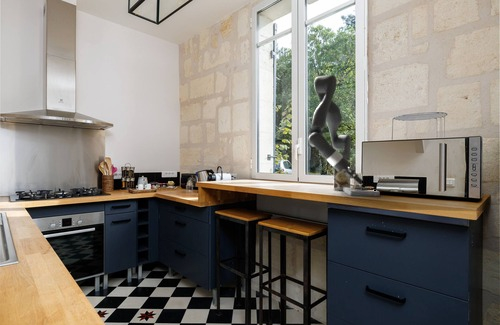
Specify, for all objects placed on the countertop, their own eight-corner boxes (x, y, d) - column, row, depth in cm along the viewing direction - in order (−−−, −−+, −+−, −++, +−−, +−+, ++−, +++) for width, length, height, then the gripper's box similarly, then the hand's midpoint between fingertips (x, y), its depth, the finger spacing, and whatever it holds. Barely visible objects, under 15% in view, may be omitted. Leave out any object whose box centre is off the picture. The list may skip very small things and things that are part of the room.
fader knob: (352, 187, 150) (352, 173, 150) (360, 187, 149) (360, 173, 149) (353, 188, 146) (353, 173, 146) (362, 188, 145) (362, 173, 145)
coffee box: (333, 190, 159) (333, 162, 159) (333, 189, 165) (333, 162, 165) (350, 190, 156) (350, 161, 156) (350, 189, 162) (349, 162, 162)
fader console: (343, 191, 153) (343, 187, 153) (368, 191, 151) (368, 187, 151) (350, 195, 132) (350, 191, 132) (379, 195, 130) (379, 191, 130)
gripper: (344, 155, 142) (369, 178, 140) (340, 156, 156) (362, 177, 154) (334, 165, 143) (358, 189, 141) (330, 165, 157) (352, 186, 155)
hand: (360, 182), depth 147 cm, fingers open, 7 cm apart
